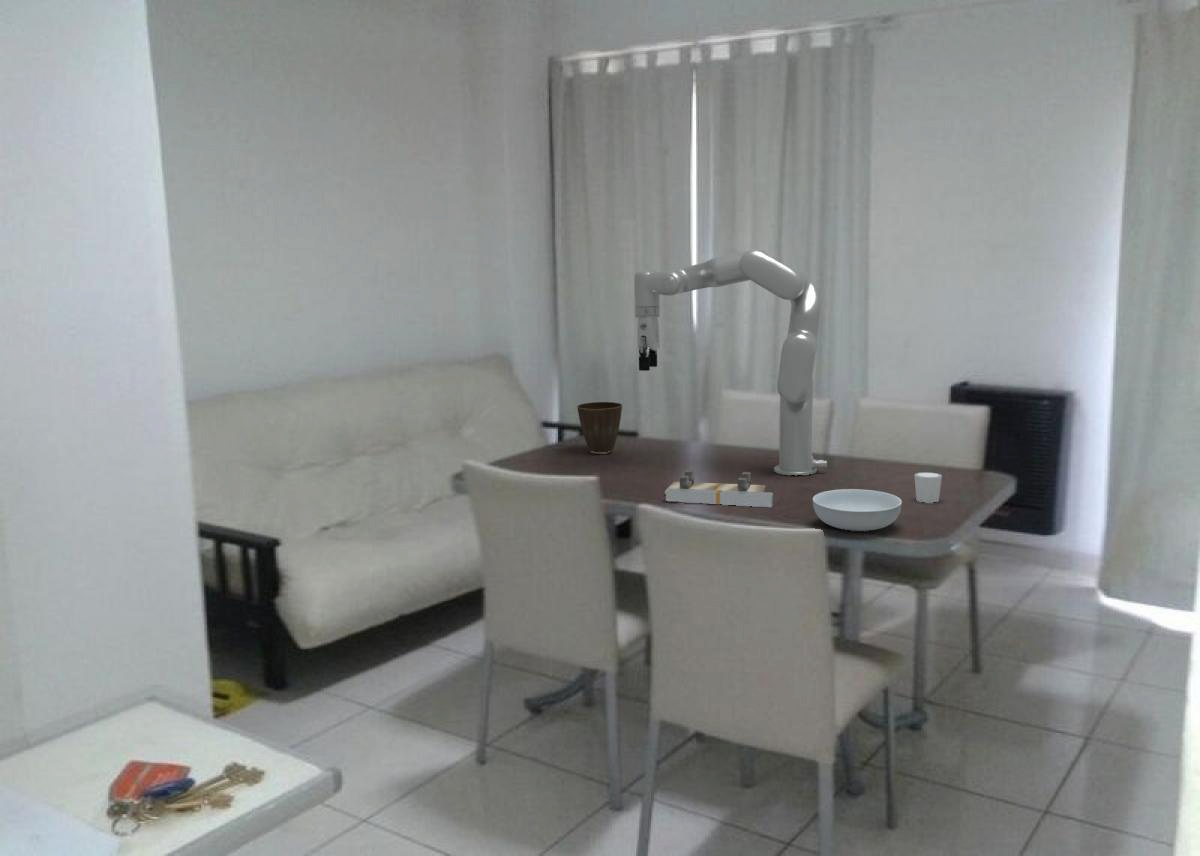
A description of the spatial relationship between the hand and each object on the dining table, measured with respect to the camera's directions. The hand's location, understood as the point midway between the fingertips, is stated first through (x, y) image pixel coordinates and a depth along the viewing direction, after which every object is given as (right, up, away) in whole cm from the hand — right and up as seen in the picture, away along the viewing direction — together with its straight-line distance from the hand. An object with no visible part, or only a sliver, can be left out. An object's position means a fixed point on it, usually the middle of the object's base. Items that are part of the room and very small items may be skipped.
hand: (648, 368), depth 314 cm
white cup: (+71, -37, -43) cm, 92 cm away
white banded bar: (+17, -38, -41) cm, 59 cm away
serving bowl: (+47, -42, -66) cm, 92 cm away
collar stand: (+17, -36, -29) cm, 49 cm away
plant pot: (-14, -27, +30) cm, 43 cm away
